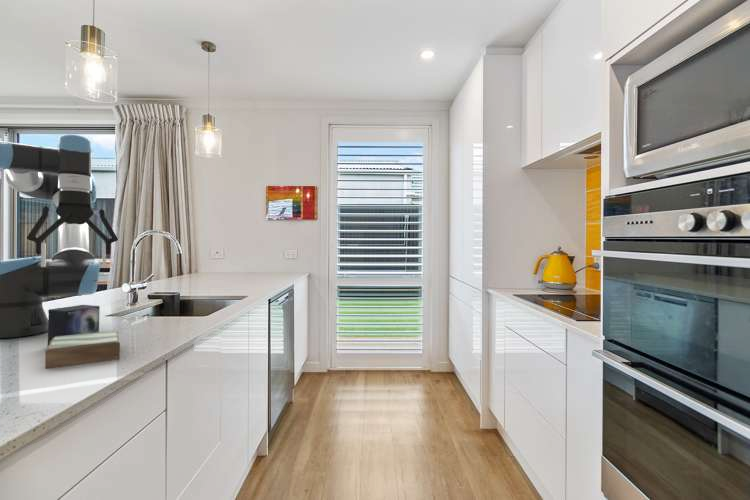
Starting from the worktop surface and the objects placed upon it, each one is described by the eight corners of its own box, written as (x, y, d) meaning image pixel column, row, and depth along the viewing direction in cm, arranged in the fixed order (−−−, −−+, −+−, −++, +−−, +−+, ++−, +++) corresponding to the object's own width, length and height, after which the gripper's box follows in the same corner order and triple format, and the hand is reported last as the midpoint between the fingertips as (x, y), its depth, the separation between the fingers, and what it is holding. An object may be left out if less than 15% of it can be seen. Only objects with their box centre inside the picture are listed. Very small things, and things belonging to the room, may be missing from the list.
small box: (65, 349, 105) (65, 310, 105) (46, 348, 106) (46, 309, 106) (100, 340, 115) (100, 305, 115) (82, 339, 117) (82, 304, 117)
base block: (52, 352, 101) (52, 336, 101) (117, 345, 109) (117, 330, 109) (45, 368, 88) (45, 349, 88) (119, 358, 96) (119, 341, 96)
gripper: (13, 185, 101) (12, 267, 101) (127, 193, 115) (127, 265, 115) (18, 188, 107) (18, 266, 107) (126, 196, 121) (126, 265, 121)
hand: (74, 266), depth 111 cm, fingers open, 13 cm apart
